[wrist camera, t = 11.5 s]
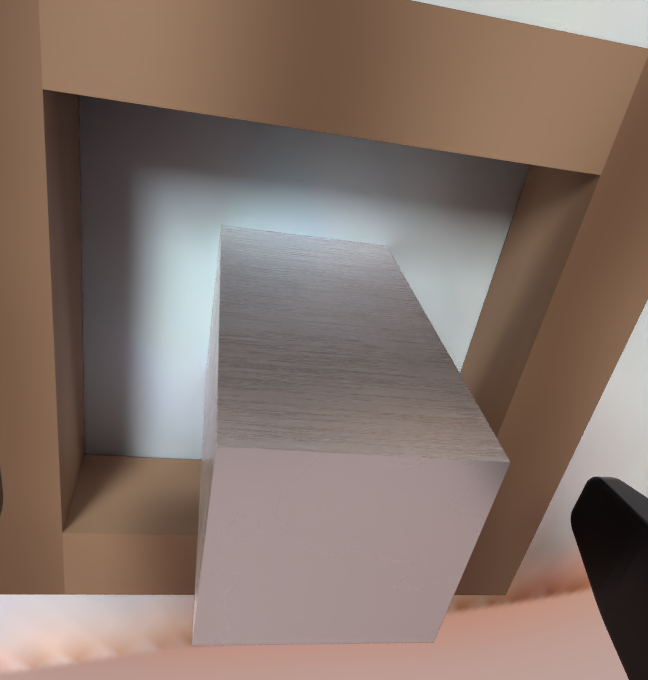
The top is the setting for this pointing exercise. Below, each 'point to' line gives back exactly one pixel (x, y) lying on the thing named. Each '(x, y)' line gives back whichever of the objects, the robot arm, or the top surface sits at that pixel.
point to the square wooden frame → (335, 118)
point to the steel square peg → (332, 451)
